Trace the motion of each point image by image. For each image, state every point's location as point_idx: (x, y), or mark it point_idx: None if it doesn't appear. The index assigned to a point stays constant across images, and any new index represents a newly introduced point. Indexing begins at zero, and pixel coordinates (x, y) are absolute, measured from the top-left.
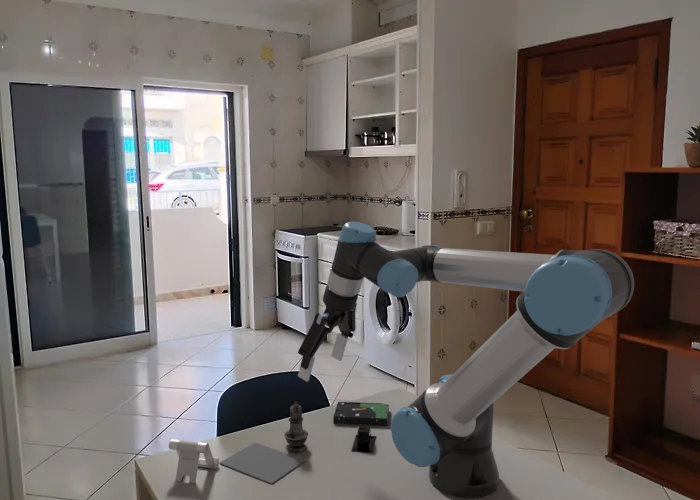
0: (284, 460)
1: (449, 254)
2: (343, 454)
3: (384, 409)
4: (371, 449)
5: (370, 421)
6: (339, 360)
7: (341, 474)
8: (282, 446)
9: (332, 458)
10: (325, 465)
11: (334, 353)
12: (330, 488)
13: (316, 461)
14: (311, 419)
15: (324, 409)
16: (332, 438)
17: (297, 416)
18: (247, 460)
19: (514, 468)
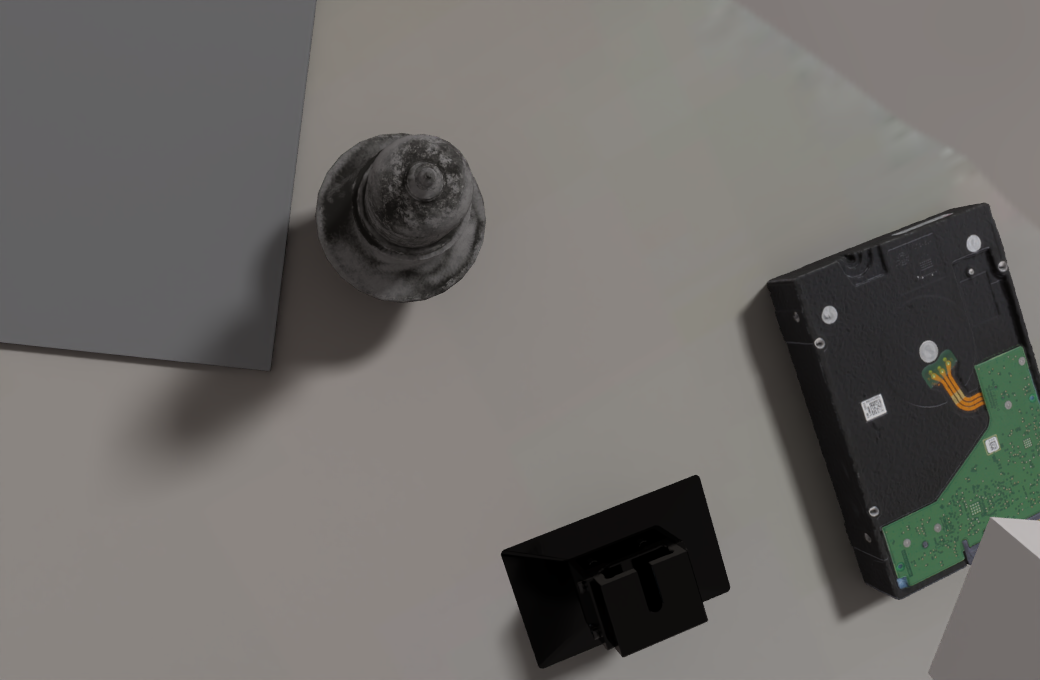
0: (201, 252)
1: None
2: (450, 529)
3: None
4: (571, 647)
5: (850, 498)
6: (937, 669)
7: (231, 640)
8: None
9: (377, 496)
10: (282, 502)
11: (1028, 613)
12: (52, 667)
13: (300, 429)
14: (761, 127)
15: (910, 136)
16: (598, 370)
17: (381, 230)
18: (85, 31)
19: None
